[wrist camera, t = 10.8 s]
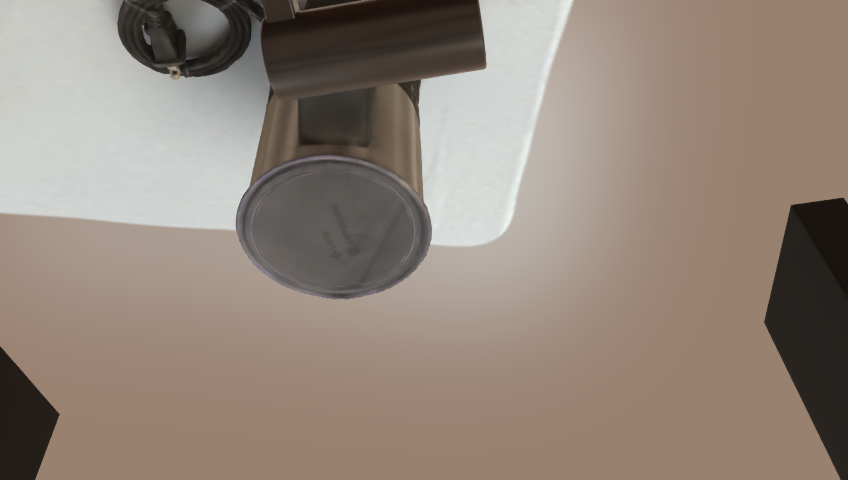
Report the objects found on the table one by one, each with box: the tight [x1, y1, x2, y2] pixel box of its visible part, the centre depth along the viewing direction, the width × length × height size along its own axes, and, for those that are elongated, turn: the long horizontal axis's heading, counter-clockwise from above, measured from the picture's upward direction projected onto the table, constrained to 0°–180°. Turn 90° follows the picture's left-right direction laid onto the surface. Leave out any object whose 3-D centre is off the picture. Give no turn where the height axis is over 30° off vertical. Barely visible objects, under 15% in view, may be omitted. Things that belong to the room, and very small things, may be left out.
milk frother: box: [117, 0, 432, 299], centre depth 39 cm, size 14×16×15 cm
